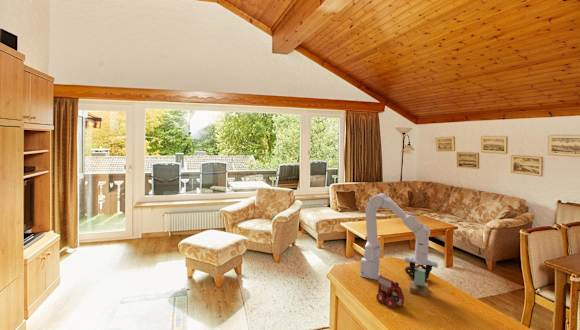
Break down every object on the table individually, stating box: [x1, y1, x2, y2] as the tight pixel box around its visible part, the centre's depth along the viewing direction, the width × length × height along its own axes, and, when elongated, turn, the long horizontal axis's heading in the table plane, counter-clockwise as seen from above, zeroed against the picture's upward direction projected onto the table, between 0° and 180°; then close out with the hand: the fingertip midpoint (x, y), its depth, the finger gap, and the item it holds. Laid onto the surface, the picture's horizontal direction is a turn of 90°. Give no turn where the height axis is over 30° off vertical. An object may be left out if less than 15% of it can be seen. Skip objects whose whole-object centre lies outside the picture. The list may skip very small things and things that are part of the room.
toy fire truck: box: [376, 275, 405, 309], centre depth 135 cm, size 7×12×10 cm, turn 39°
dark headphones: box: [404, 264, 431, 280], centre depth 161 cm, size 12×10×8 cm
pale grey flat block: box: [409, 279, 429, 297], centre depth 148 cm, size 8×8×3 cm
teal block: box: [413, 268, 426, 286], centre depth 147 cm, size 4×4×6 cm
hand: (419, 279), depth 147 cm, fingers closed on teal block, 4 cm apart
